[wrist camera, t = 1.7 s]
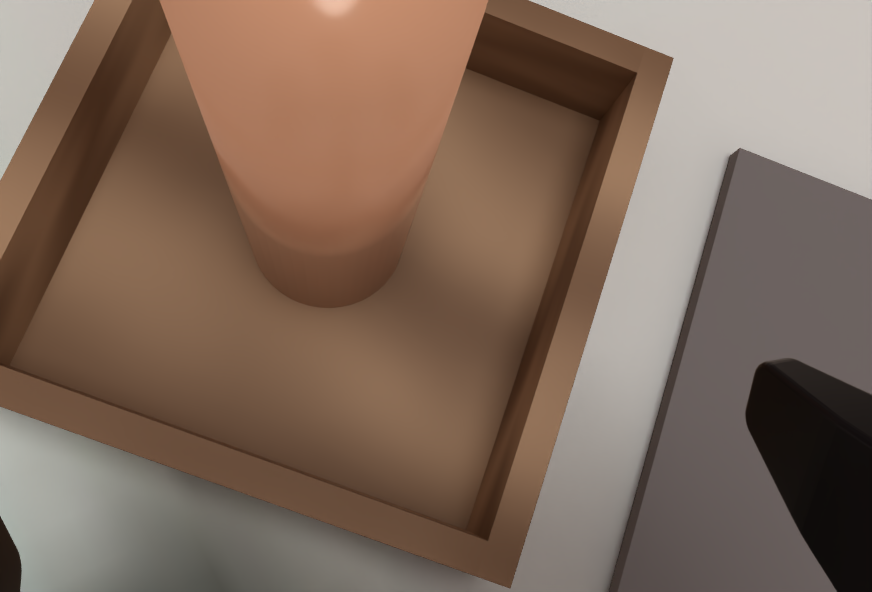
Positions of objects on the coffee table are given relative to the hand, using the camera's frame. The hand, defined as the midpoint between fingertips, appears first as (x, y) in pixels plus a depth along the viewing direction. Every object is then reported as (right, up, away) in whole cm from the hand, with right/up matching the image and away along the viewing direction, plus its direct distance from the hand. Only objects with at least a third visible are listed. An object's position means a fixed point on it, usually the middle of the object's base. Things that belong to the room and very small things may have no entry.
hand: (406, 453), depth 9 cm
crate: (-3, +4, +13) cm, 14 cm away
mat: (+12, -2, +14) cm, 19 cm away
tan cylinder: (-3, +4, +13) cm, 13 cm away
